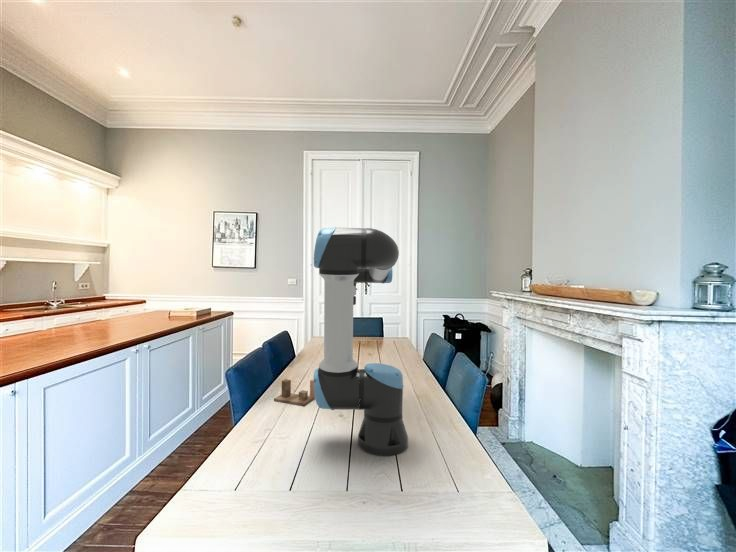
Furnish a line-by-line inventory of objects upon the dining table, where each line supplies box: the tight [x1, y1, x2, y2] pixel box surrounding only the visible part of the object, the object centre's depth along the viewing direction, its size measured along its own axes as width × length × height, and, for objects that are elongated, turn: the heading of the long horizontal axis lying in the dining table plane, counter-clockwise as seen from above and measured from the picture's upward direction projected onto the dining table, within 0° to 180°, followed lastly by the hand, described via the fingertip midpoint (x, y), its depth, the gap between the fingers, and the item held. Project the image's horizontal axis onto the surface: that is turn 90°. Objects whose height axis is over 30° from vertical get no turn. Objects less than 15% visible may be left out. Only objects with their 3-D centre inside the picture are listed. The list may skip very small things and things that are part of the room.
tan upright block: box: [309, 378, 315, 397], centre depth 145 cm, size 5×5×7 cm
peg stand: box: [273, 378, 316, 407], centre depth 139 cm, size 14×8×8 cm, turn 69°
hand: (346, 344), depth 149 cm, fingers open, 13 cm apart
